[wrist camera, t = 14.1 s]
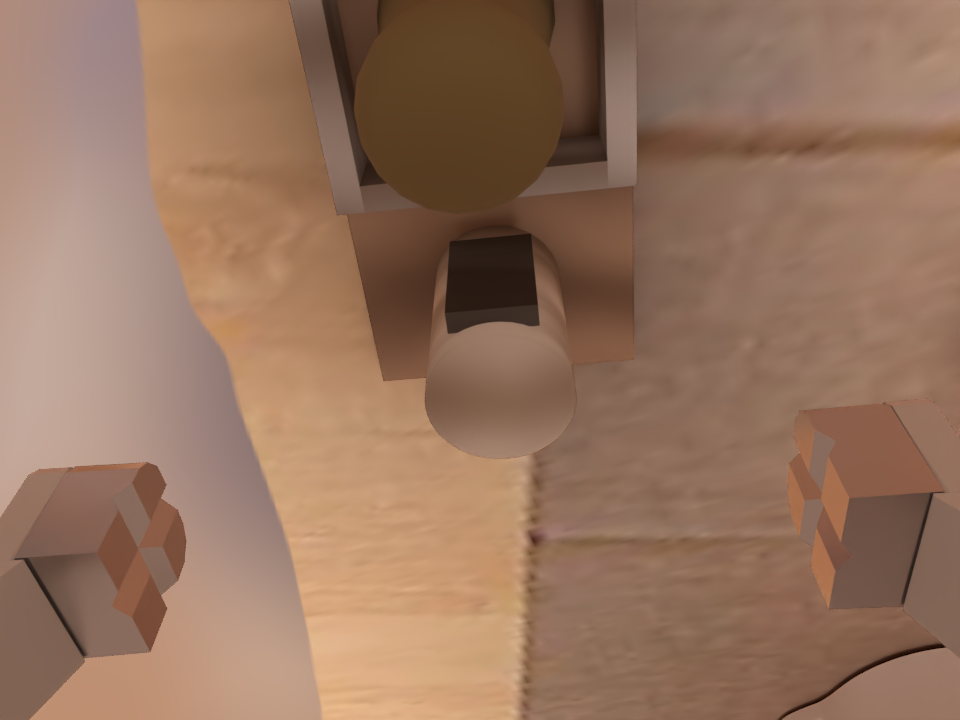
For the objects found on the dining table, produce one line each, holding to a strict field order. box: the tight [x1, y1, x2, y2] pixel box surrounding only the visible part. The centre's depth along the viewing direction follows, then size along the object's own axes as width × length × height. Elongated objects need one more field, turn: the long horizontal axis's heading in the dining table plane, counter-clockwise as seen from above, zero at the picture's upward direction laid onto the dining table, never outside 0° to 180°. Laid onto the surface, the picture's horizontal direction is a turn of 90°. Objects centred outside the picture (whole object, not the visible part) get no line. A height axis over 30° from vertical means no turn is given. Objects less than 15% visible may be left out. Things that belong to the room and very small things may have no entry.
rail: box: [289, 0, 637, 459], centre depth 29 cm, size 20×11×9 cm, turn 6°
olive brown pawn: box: [354, 0, 565, 215], centre depth 24 cm, size 6×6×11 cm
